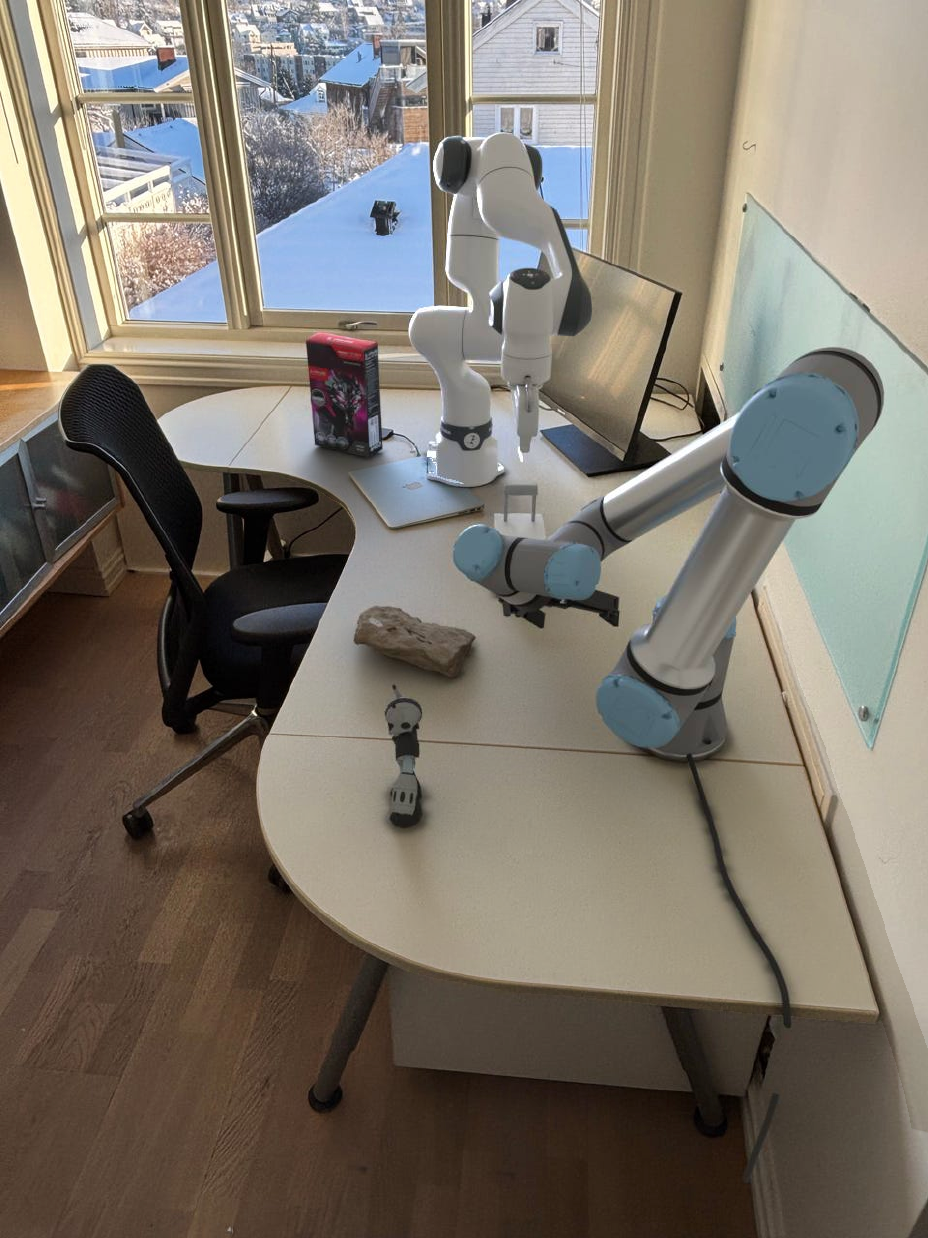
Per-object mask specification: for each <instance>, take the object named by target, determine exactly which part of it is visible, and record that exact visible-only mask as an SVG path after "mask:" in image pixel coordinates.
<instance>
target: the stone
mask: <svg viewBox="0 0 928 1238" xmlns="http://www.w3.org/2000/svg"><path fill="white" fill-rule="evenodd" d="M356 624H357V626H356V629H355V633H354V635H353V642H354V644H355V645H357V646H358V645H365V646H369V647H370V648H371V649H372V650H373V652H376V653H377V654H382V655H386V656H387V657H391V658H394V659H399V660H401V661H404V662H406V663H410V664H411V665H414V666H417V667H419V668H420V669H423V670H425V671H433V672H438V673H440V674H442V675H443V677H446V678H447V677H448V678H449V679H450V678H454V677H457V675H458V674H459V673H460V671H461V669H462V667H463V662H464V658H466V656H467V654H468V652H469V650H470V649H471V647H472V644H473V642H474V641H476V638H477V637H476V636H475V634H473V633H472V632H470V631H467V629H464V628H460V627H454V626H448V625H447V626H446V625H441V624H438V623H435V622H433V623H431V622H424V621H422V620H421V619H420V618H419V617H417V616H415V617H414V616H412V615H411V614H409V613H408V612H405V611H404V610H403V609H402V608H401V607H396V606H391V605H385V606H382V605H381V606H380V605H374V606H372V607H369V608H368V609H366V610H364V611H363V612H361V613H360V614H359V616H358V619H357V623H356Z"/></svg>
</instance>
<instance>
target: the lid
mask: <svg viewBox="0 0 928 1238" xmlns="http://www.w3.org/2000/svg"><path fill="white" fill-rule="evenodd" d="M538 493H539V485H538V484H536V483H535V484H534V483H532V484H527V483H524V484H523V483H521V484H520V483H519V484H518V483H517V484H516V483H515V484H513V483H509V484H508V483H504V484H503V497H504V498H503V513H493V524H494V523H495V529H496V530H498V531H499V533H500V534H502V535H506V536H515V537H522V538H532V539H540V540H545V539H547V538H548V537H547V533H546V526H545V522H544V521H545V520H544V516H543V513H536V509H537V497H538V495H539V494H538ZM509 496H522V497H523V496H525V497H526V496H528V497H529V496H531V512H530V513H508V511H509Z"/></svg>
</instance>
